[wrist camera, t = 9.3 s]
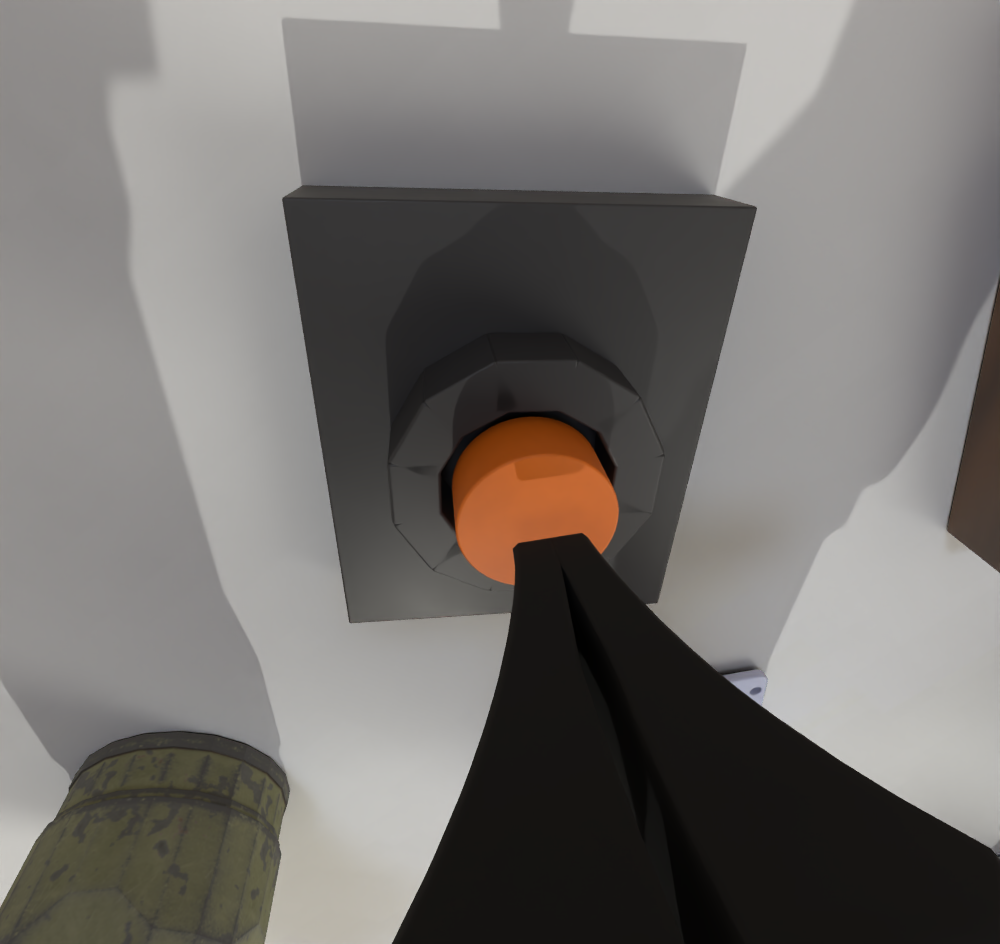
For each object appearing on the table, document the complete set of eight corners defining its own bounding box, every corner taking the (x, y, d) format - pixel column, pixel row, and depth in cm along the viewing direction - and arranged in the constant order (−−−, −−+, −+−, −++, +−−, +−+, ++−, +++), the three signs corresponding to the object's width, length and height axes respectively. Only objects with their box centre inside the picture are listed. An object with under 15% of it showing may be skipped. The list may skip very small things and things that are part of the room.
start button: (589, 536, 15) (607, 582, 13) (452, 542, 14) (456, 591, 13) (607, 413, 13) (631, 451, 11) (450, 417, 12) (454, 457, 11)
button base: (636, 559, 20) (678, 646, 17) (356, 575, 19) (342, 672, 16) (714, 194, 14) (805, 220, 11) (301, 185, 13) (258, 210, 10)
